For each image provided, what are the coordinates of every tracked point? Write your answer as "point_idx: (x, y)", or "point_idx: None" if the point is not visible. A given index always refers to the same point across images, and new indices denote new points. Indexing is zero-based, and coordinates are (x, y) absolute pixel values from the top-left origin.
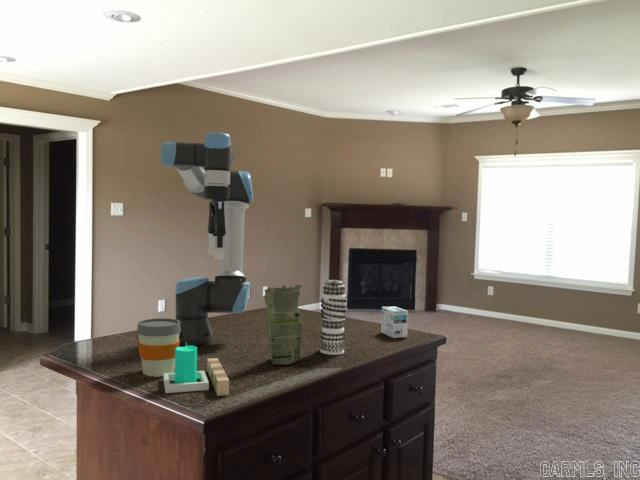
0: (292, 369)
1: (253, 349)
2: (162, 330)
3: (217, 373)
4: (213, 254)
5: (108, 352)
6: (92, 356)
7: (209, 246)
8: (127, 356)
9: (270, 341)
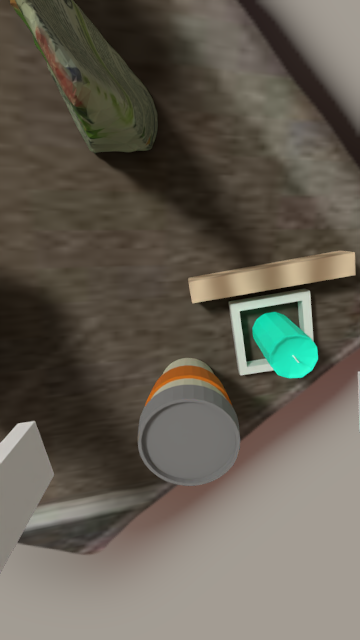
0: (184, 98)
1: (8, 196)
2: (237, 425)
3: (305, 277)
4: (41, 448)
5: (60, 479)
6: (88, 496)
7: (21, 526)
8: (86, 446)
9: (134, 141)
